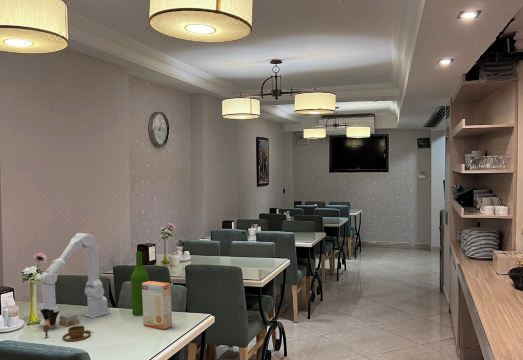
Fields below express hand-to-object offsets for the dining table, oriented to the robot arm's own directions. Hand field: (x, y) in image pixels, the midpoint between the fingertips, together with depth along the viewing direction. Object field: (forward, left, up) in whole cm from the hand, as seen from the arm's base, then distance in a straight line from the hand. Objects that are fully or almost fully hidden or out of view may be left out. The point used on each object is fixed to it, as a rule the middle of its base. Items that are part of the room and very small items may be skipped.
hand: (50, 324), depth 241 cm
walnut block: (-8, +3, -2) cm, 9 cm away
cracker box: (-32, +43, -2) cm, 54 cm away
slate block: (-8, +3, +1) cm, 8 cm away
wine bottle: (-40, +18, -2) cm, 44 cm away
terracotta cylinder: (0, 0, -1) cm, 1 cm away
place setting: (0, +21, -2) cm, 21 cm away
